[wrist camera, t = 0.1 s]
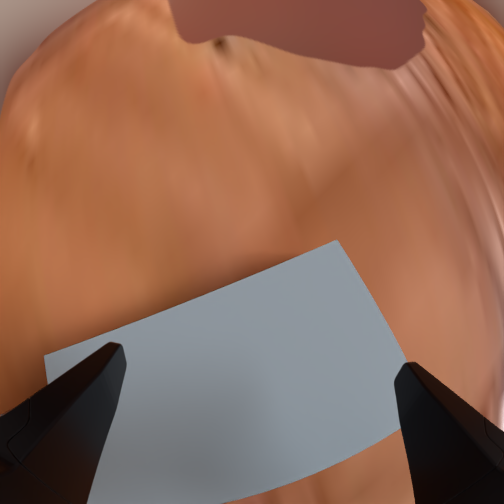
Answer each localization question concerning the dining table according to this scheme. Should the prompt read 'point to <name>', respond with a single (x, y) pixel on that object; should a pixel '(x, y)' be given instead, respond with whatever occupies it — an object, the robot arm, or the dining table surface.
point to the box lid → (247, 386)
